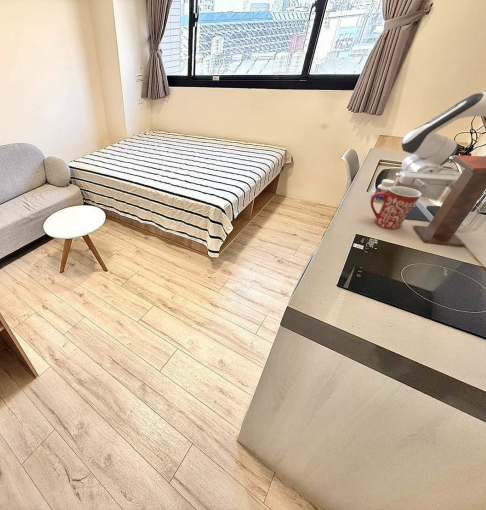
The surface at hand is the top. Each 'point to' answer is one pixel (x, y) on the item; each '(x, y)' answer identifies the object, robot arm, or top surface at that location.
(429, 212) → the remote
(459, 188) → the shelf stand
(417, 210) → the mat
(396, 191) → the mug
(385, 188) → the pill bottle
